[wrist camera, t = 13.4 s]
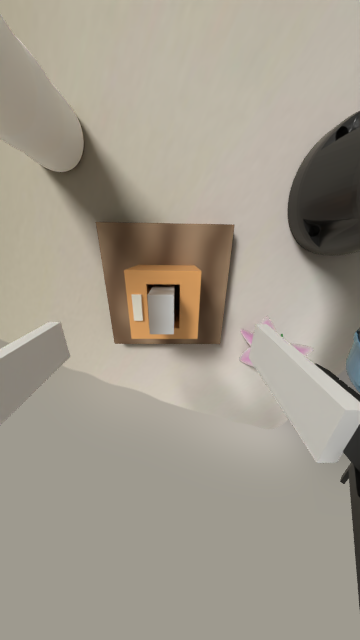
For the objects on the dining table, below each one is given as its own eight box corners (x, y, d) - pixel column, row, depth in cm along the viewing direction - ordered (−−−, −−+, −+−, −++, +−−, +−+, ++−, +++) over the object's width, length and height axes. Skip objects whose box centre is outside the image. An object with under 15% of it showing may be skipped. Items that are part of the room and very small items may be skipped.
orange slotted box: (192, 317, 27) (197, 340, 20) (142, 317, 27) (130, 340, 20) (194, 265, 24) (201, 271, 17) (138, 264, 24) (122, 270, 17)
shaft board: (229, 226, 24) (276, 206, 13) (217, 338, 31) (240, 387, 20) (102, 224, 23) (35, 201, 12) (118, 337, 30) (85, 388, 19)
